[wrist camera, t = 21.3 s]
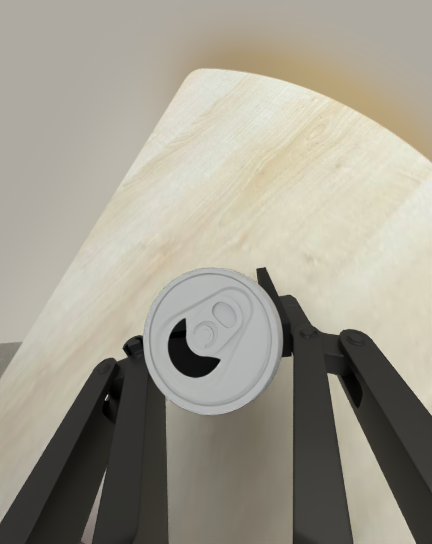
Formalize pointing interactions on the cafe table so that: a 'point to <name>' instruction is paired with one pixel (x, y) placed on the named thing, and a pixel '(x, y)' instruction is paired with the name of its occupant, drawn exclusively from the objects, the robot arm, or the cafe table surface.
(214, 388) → the beverage can
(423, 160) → the cafe table surface
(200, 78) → the cafe table surface
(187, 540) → the cafe table surface
